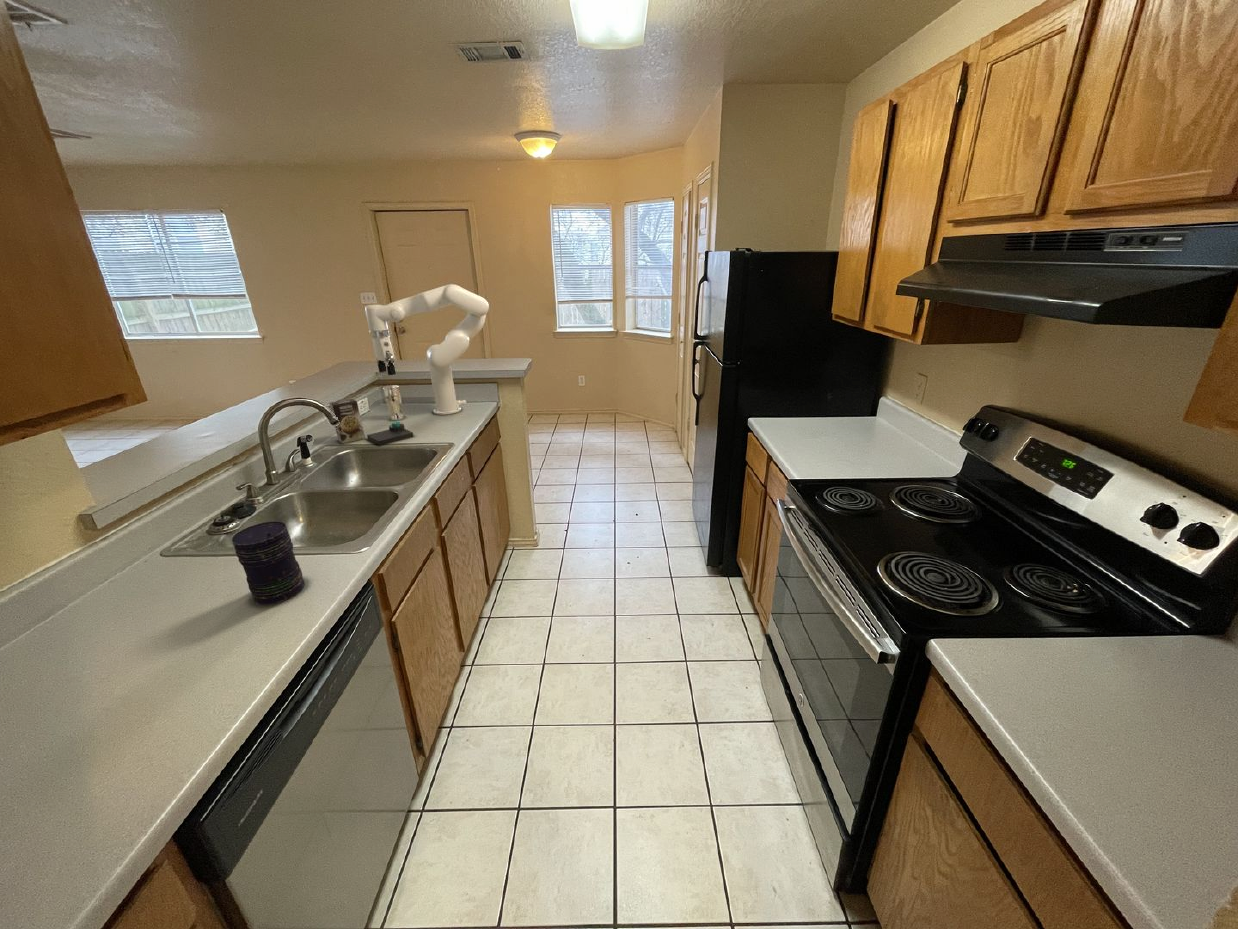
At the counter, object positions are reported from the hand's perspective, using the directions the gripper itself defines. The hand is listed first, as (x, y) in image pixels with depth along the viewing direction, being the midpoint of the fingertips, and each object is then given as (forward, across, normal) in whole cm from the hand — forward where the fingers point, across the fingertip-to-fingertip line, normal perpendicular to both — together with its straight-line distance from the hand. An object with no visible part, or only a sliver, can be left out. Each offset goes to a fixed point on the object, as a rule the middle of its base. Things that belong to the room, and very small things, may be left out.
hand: (387, 373), depth 227 cm
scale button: (+18, -23, +9) cm, 30 cm away
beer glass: (+21, 0, 0) cm, 21 cm away
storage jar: (+22, -113, +74) cm, 137 cm away
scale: (+21, -26, +14) cm, 36 cm away
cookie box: (+22, -15, +25) cm, 36 cm away
